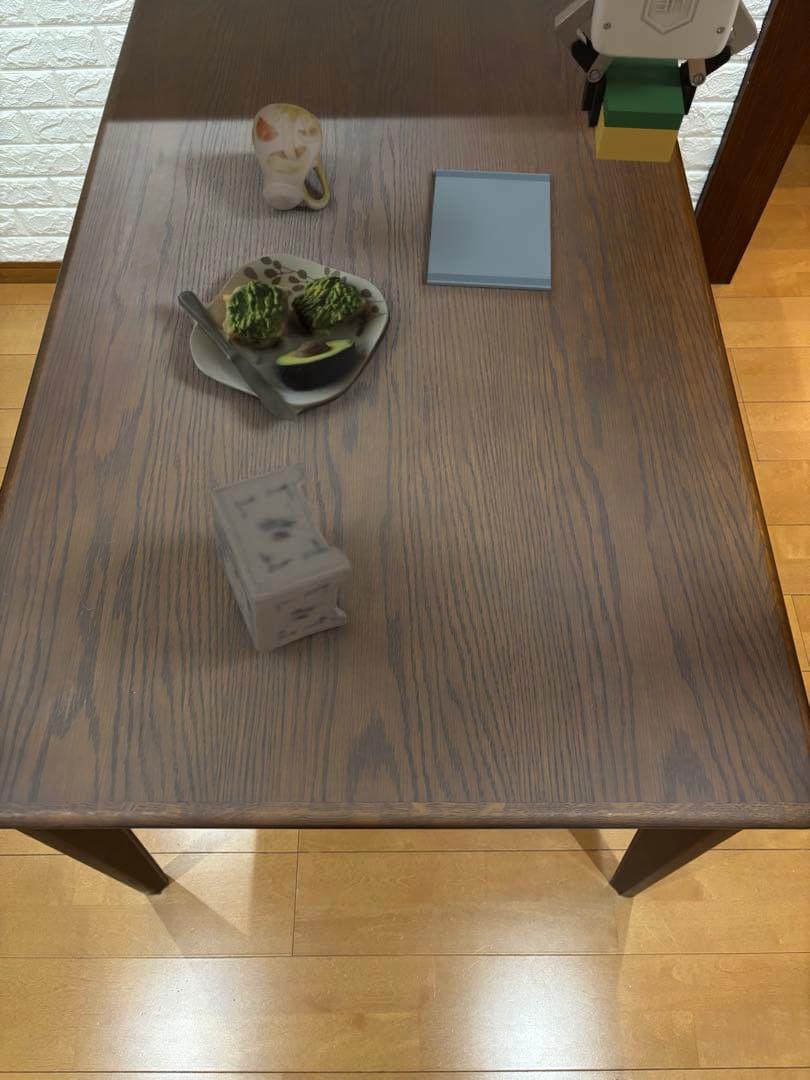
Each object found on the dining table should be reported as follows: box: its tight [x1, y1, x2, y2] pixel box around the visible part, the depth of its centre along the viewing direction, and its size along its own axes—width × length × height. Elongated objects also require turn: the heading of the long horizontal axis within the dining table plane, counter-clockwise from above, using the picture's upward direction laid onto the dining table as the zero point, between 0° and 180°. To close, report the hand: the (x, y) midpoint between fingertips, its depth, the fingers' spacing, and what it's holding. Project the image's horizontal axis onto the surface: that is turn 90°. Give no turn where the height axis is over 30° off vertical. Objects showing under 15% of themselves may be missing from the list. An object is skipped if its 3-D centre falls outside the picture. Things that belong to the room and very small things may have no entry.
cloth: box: [426, 168, 552, 292], centre depth 84 cm, size 12×16×1 cm
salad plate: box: [177, 253, 391, 422], centre depth 75 cm, size 19×18×5 cm
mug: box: [251, 102, 331, 211], centre depth 84 cm, size 8×10×10 cm
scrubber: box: [594, 57, 685, 163], centre depth 68 cm, size 9×6×4 cm, turn 176°
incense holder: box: [208, 462, 352, 654], centre depth 61 cm, size 10×8×10 cm
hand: (631, 116), depth 70 cm, fingers closed on scrubber, 6 cm apart
